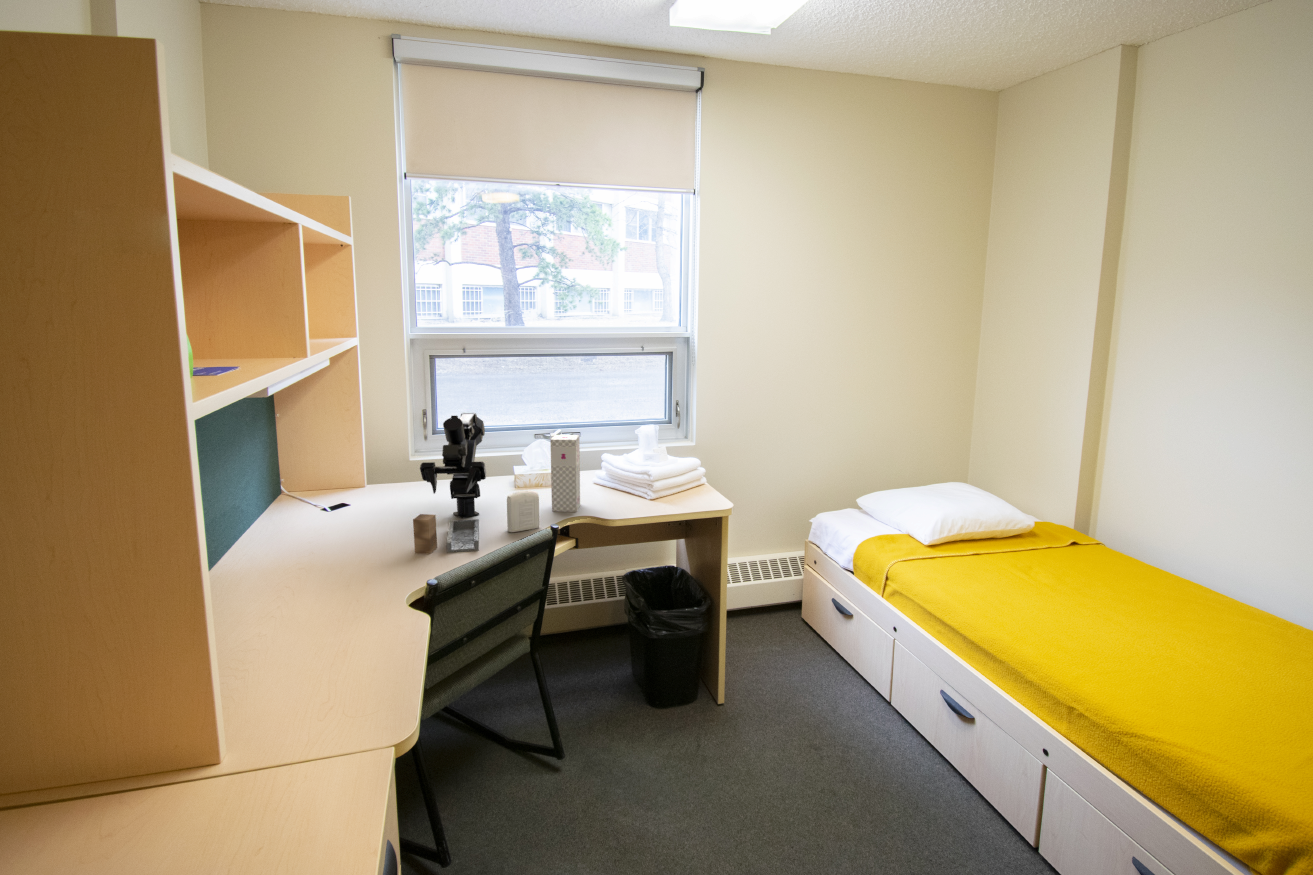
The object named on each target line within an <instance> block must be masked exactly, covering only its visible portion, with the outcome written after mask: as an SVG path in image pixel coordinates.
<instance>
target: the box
mask: <svg viewBox="0 0 1313 875" xmlns="http://www.w3.org/2000/svg"><path fill="white" fill-rule="evenodd" d="M580 449H581V448H580V434H554V435H553V436H552V437H551V438H550V474H551V475H550V479H551V481H550V482H551V484H550V485H551V512H571V513H572V512H574V513H575V512H576V513H577V512H578V510H579V507H580V506H581V479H580V478H581V468H580V467H581V466H580V465H581V460H580V459H581V458H580V455H581V454H580Z"/></svg>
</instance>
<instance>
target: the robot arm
mask: <svg viewBox="0 0 1313 875" xmlns="http://www.w3.org/2000/svg"><path fill="white" fill-rule="evenodd" d="M442 425H443V431H444V437H445V440H446V442H447V444H444V445H442V455H441V456H442V457H443V458H442V464H443V465H442V466H441V465H439V466H438V465H437V466H436V462H434V461H432V462H430V461H429V462H421V464H420V466H419V470H420V475H421V477H422V478H421V479H422V480H423V481H425V482H426V483H430V485H431V488H432V493H433V494H434V495H435V494H436V492H437V485H438V484H437V483H438V480H437V478H438V474H439V475H441V474H447V475H449V476H450V475H452V477H451V478H452V479H451V480H450V481H449V490H450V498H451V499H452V500H455V499H456V511H454V512H452V514H453V515H454V516H455V517H456V516H457V517H458V518H460V519H465V518H469V517H474V516H479V515H480V512H478V511H476V510H475V509H476V508H475V507H476V506H475V499H478V498H480V497H481V489H480V484H479V483H480V482H481V481H483V480H486V479H487V469H486V463H485V462H484V461H475V460H476V452H477V451H476V450H477V447H478V445H479V444H481V443H482V441H483V438H484V437H485V434H486V433H485V432H486V429H485V424H484V420H482V419H481V418H479V417H478V416H477V412H462V413H460V417H459V416H458V415H451V416H450V418H447V419H445V420H444V421H443V424H442ZM478 482H479V483H478Z"/></svg>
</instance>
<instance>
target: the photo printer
mask: <svg viewBox="0 0 1313 875" xmlns="http://www.w3.org/2000/svg"><path fill="white" fill-rule="evenodd" d="M506 516H507V522H506V523H507V532H509V533H516V532H522V531H527V530H534V529H539V528H540V497H539V493H538V492H536V491H534V490H520V491H516V492H513V493H511V494H509V495H507V497H506Z"/></svg>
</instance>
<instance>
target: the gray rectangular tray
mask: <svg viewBox="0 0 1313 875" xmlns="http://www.w3.org/2000/svg"><path fill="white" fill-rule="evenodd" d="M479 549H480V519H479V518H477V519H476V518H474V519H473V518H471V519H459V520H457V519H456V520H450V521H449V524H448V531H447V539H446V553H447V554H451V553H464V552H475V551H477V552H478V551H480V550H479Z"/></svg>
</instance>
